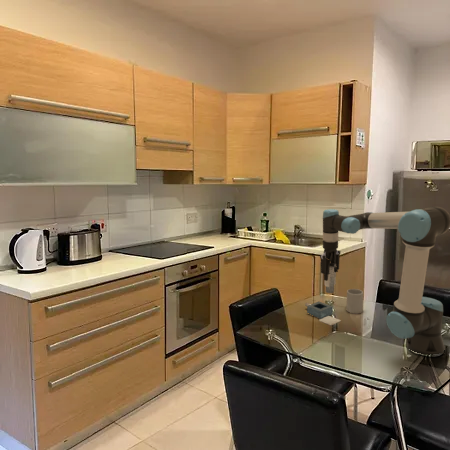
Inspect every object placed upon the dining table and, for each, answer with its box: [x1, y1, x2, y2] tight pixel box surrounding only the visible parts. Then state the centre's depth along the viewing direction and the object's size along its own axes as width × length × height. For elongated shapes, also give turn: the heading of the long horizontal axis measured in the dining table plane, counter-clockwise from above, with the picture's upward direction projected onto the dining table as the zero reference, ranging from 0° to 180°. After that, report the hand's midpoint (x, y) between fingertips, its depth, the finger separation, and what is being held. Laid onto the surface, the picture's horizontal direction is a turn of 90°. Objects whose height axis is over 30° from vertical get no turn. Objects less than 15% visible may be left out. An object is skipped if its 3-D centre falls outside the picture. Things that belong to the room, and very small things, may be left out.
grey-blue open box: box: [304, 301, 334, 320], centre depth 222 cm, size 14×10×4 cm, turn 37°
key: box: [325, 262, 337, 294], centre depth 207 cm, size 4×6×15 cm, turn 37°
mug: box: [345, 288, 364, 315], centre depth 223 cm, size 12×8×11 cm
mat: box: [318, 315, 342, 326], centre depth 211 cm, size 8×8×1 cm
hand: (329, 284), depth 207 cm, fingers closed on key, 4 cm apart
